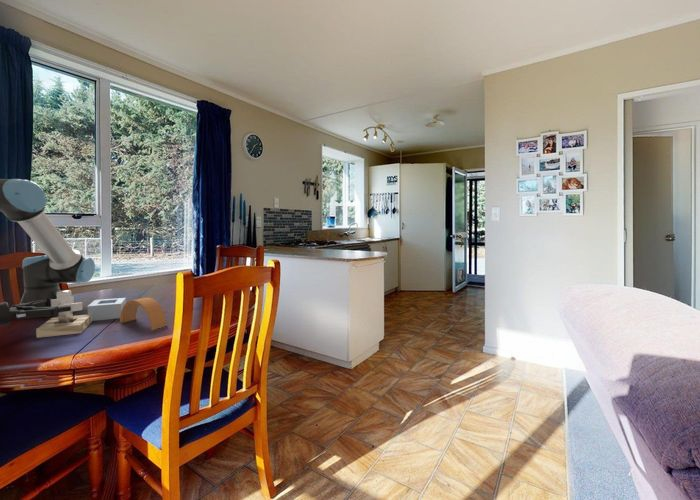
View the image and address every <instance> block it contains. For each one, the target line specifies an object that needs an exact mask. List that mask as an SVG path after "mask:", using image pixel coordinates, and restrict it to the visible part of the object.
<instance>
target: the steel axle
mask: <svg viewBox="0 0 700 500" xmlns="http://www.w3.org/2000/svg"><path fill="white" fill-rule="evenodd" d="M72 297H73V296H72V290H70V289H67V290H66V289H65V290H63V289H62V290H61V291H58V292H57V307H58V305H65V304H72ZM73 312H74V311H72V312H66V313H60V314H59V316H57V317H58V322H59V324H62V323H72V322H73V316H74V314H73Z"/></svg>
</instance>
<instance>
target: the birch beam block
mask: <svg viewBox="0 0 700 500" xmlns="http://www.w3.org/2000/svg"><path fill="white" fill-rule="evenodd" d="M92 322H93V321H92V314H90V315H88V314H80V315H73V322H72V323H62V324H59V322H58V316H57V317H56V316H55V317H51V318H50V319H48V320H47V321H45V322H44V323H42V324H41V325H40V326H38V327H37V328H35V330H36V331H35V333H36V339H38V338H47V337H55V336H56V337H58V336H65V335H66V336H68V335H74V334H82V333H83V332H84V331H85V330H86V329H87V328H88V327H89V326H90V324H92Z"/></svg>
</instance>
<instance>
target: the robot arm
mask: <svg viewBox="0 0 700 500" xmlns="http://www.w3.org/2000/svg"><path fill="white" fill-rule="evenodd" d="M46 204H47V198H46V193H45V191H44V190H43V188H42V187H41V186H40V185H38V183H36V182H34V181H32V180H29V179H21V178H11V179H9V178H0V212H1V213H3V214H4V216H5V217H6V218H7V219H8V220H9V221H11V222H14V223H18V224H19V225H20V227H21V228H22V229H23V230H24V232H25V233H26V234H27V235H28V236H29V238H31V239H32V241H33V242H34V243H35V244H36V245H37V246H38V247H39V249H40V250H41V251H42V252H43V254H45V255H37V256H30V257H24V259H22V266H21V269H22V278H23V289H24V291H23V294H22V297H21V300H20V302H19V304H12V305H11V307H10V304H9V302H8V301H3V302H0V327H2V326H3V327H4V326H9V325H10V324H11V319H12V318H13V319H15V318H16V320H17V321H19V320H25V319H35V318H45V317H47V316H49V317H55V318H56V317H58V316H59V314H60V313H66V312H77V311H83V302H82V301H81V302H75V297H74V296H72V304H65V305H58V307H57V292H58V291H62V290H61V288H60V284H85V283H87V282H90V280H91V279H92V278H93V277H94V275H95V271H96V264H95V260H94V259H93V258H92V257H89V256H88V257H87V256H85V257H84V256H83V254H81V252H80V251H79V250H77V249H73V248H72V247H71V245H70V244H69V243H68V242H67V240H66V239H65V238H64V236H63V235H62V234H61V233H60V231H59V230H58V229H57V227H56V226H55V225H54V223H53V222H52V221H51V219H50V218H49V217H48V216H47V214H46V213H45V210H46ZM50 305H51V307H50Z"/></svg>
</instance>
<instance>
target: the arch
mask: <svg viewBox="0 0 700 500" xmlns="http://www.w3.org/2000/svg"><path fill="white" fill-rule="evenodd" d="M139 306H140V307H141V308H142V309H143V310H144V312H145V313H146V315H147V317H148V320H149V324H150V329H151V331H152V330H153V331H155V330H154V329H156V330H158V329H157V328H160V327H163V328H165V327H164V326H166V327H168V324H167V318H166V315H165V314H166V313H165V312H164V309H163V308H162V306H161V304H160V303H159V302H158V301H157V300H156V299H154V298H152V297H143V298H137V299H132V300H128V301H126V304H125V305H124V307H123V309H122V311H121V317H120V318H119V322H120V323H121V324H123V323H127V322H132V321H135V320H136V319H137V313H138V308H139ZM160 329H161V328H160Z"/></svg>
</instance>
